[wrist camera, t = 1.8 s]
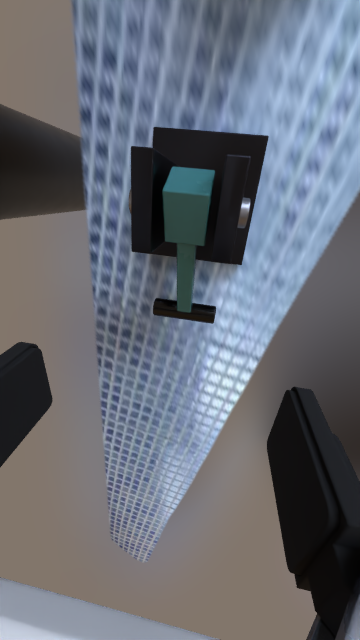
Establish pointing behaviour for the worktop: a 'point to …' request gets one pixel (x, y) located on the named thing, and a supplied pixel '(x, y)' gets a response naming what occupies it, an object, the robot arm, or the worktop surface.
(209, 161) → the bracket
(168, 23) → the worktop surface
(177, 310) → the lever
